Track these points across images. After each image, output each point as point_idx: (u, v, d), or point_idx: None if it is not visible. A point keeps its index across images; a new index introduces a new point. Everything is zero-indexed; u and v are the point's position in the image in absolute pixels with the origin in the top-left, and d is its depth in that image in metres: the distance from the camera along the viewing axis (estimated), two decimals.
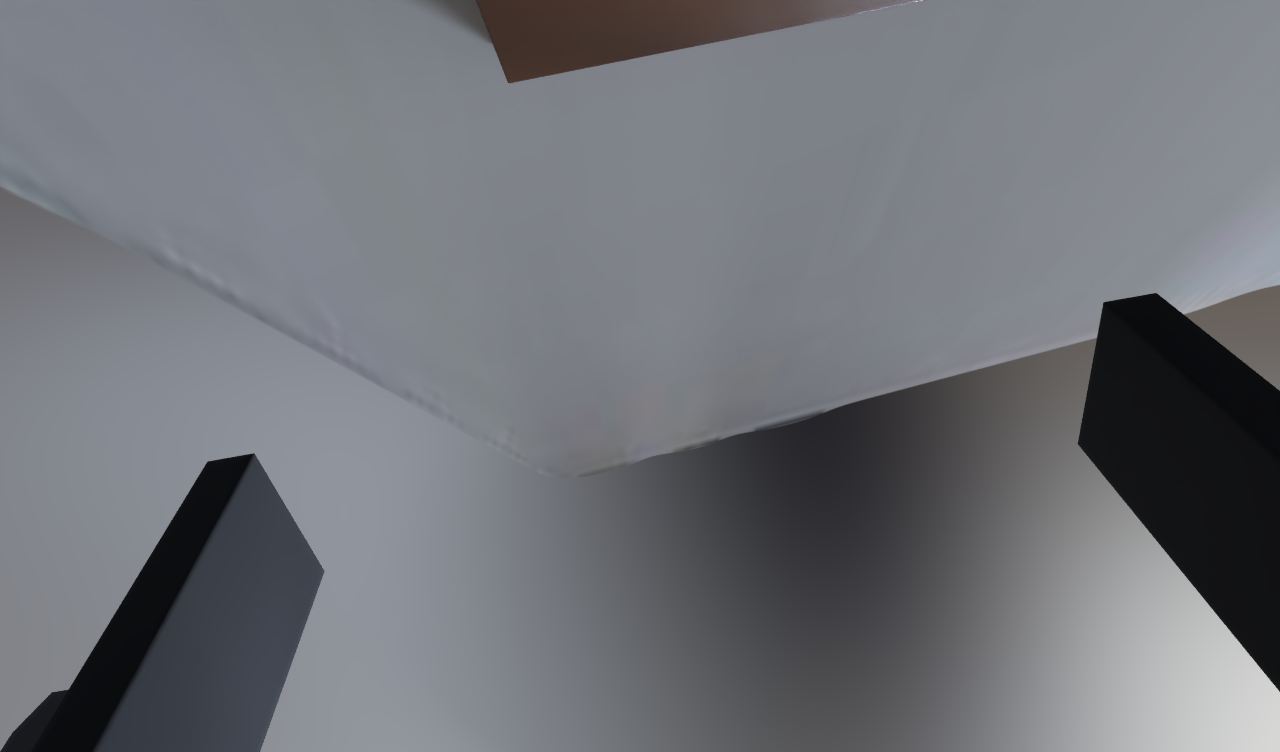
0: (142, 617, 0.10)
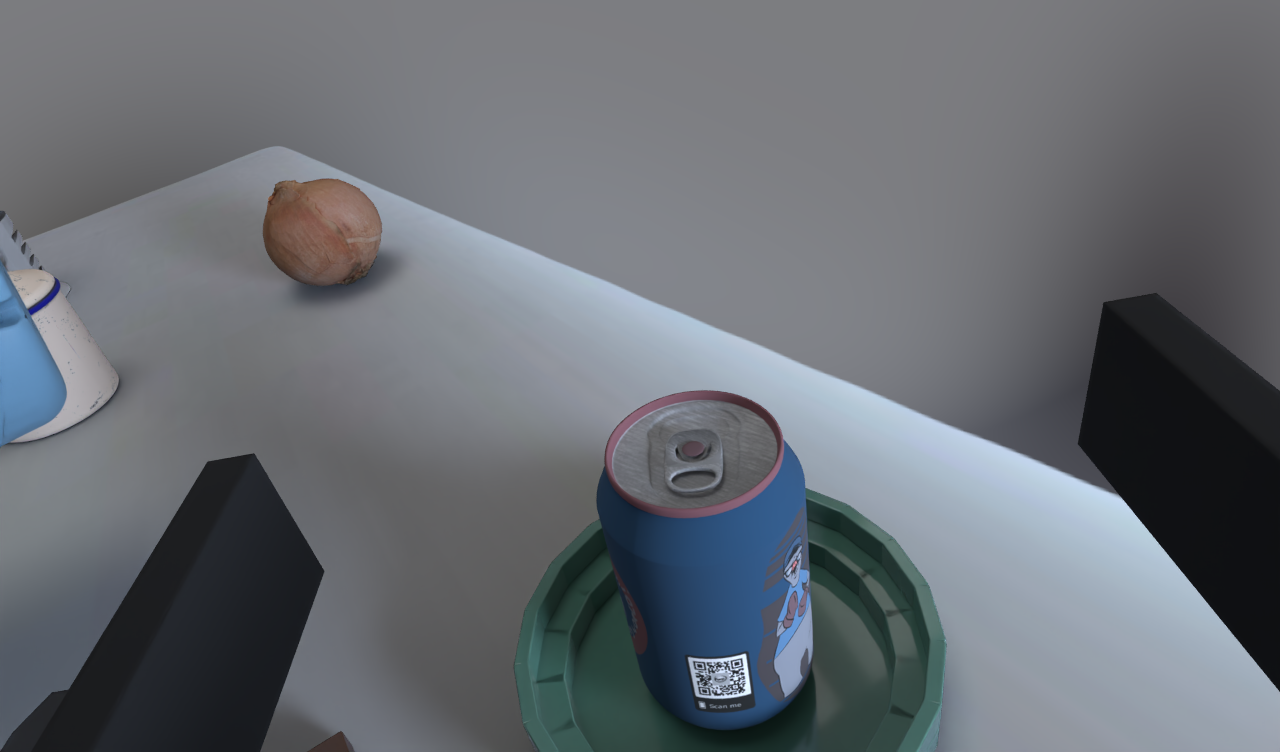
0: (142, 617, 0.10)
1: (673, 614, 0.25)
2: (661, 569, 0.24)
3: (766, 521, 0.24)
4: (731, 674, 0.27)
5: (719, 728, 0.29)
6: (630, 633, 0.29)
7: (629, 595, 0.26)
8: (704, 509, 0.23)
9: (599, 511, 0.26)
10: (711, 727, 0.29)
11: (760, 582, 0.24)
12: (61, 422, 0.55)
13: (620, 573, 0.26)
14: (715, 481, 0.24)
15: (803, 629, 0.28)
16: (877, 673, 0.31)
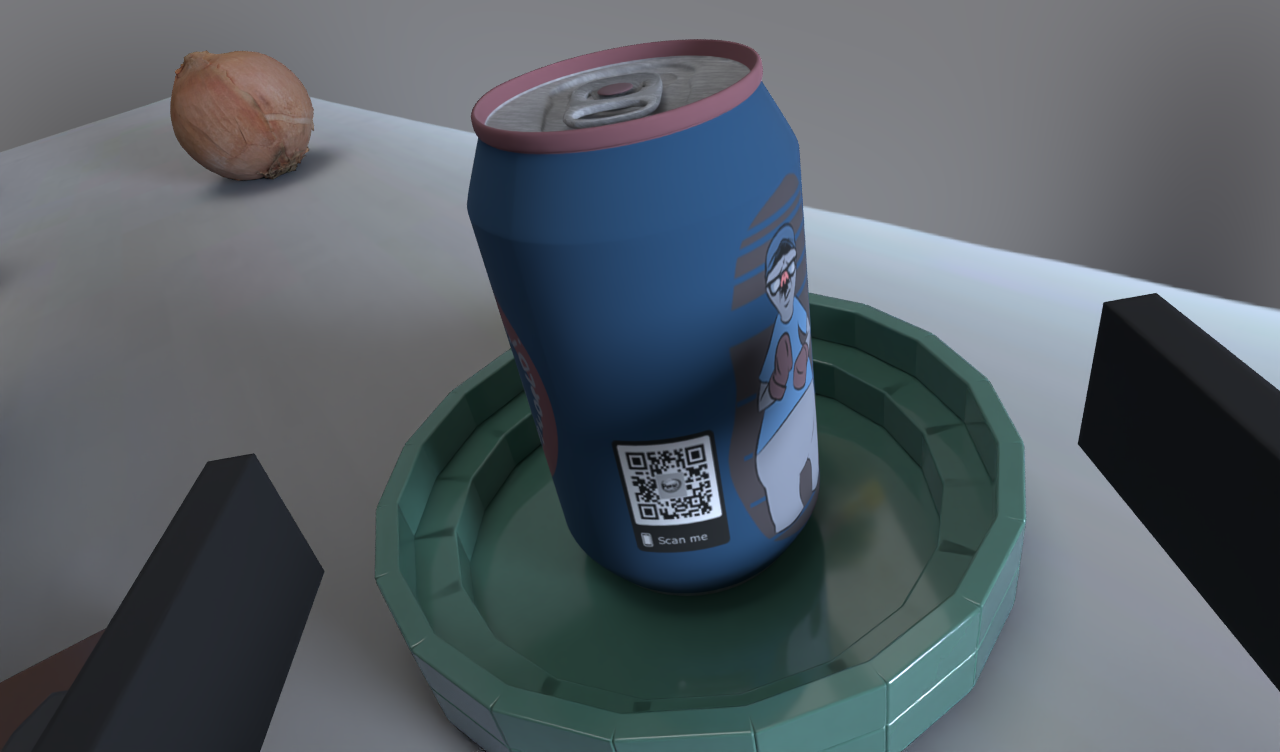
0: (142, 617, 0.10)
1: (586, 357, 0.15)
2: (555, 256, 0.14)
3: (732, 166, 0.14)
4: (688, 476, 0.17)
5: (676, 583, 0.19)
6: (542, 445, 0.19)
7: (522, 347, 0.16)
8: (620, 126, 0.13)
9: (468, 204, 0.16)
10: (665, 582, 0.19)
11: (725, 287, 0.14)
12: None
13: (505, 307, 0.16)
14: (645, 107, 0.14)
15: (803, 418, 0.18)
16: (915, 515, 0.21)
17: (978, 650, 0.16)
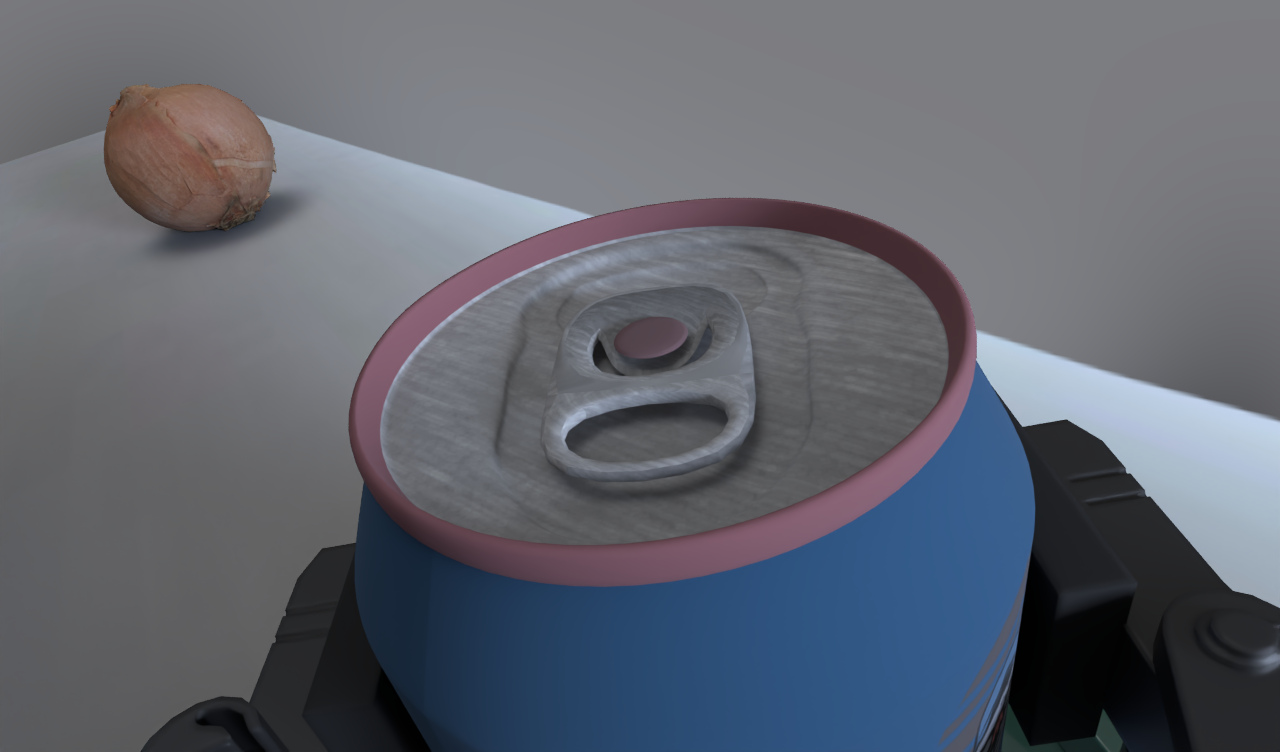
0: None
1: None
2: None
3: (937, 590, 0.06)
4: None
5: None
6: None
7: None
8: (681, 548, 0.05)
9: None
10: None
11: None
12: None
13: None
14: (726, 436, 0.06)
15: None
16: None
17: None
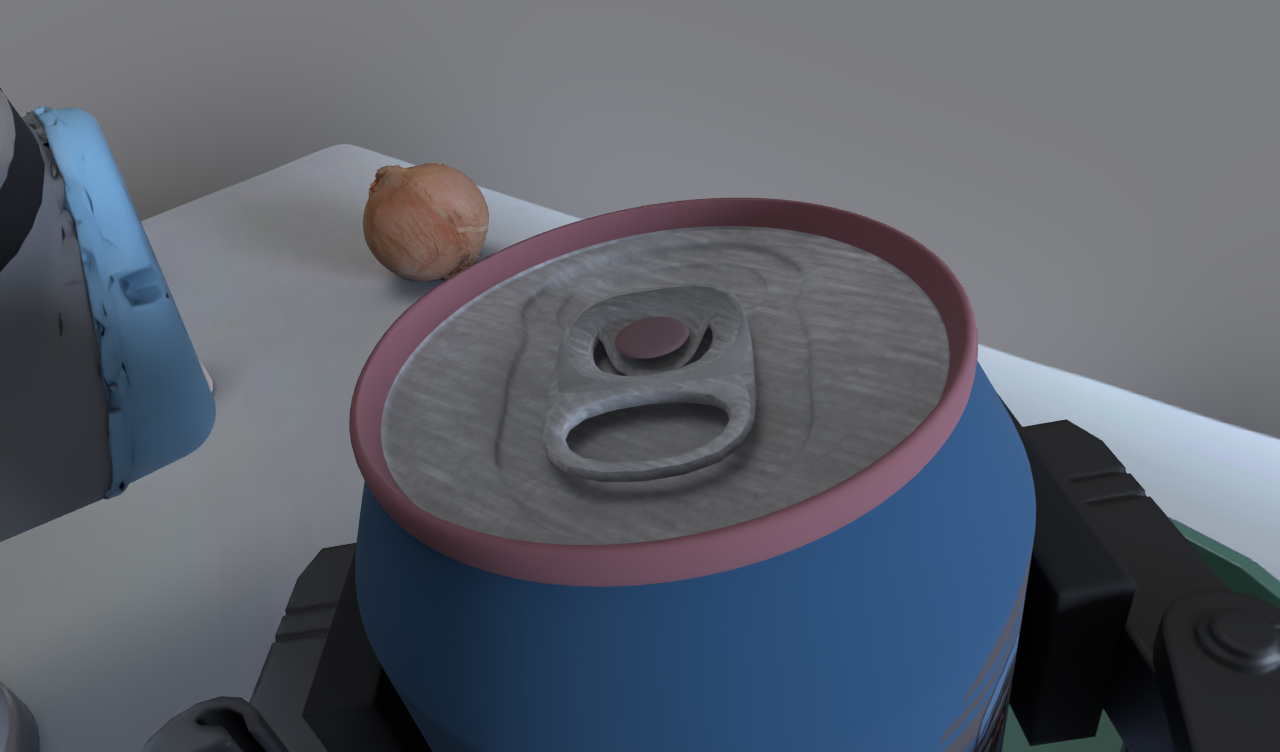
0: None
1: None
2: None
3: (938, 590, 0.06)
4: None
5: None
6: None
7: None
8: (682, 548, 0.05)
9: None
10: None
11: None
12: None
13: None
14: (729, 437, 0.06)
15: None
16: None
17: None
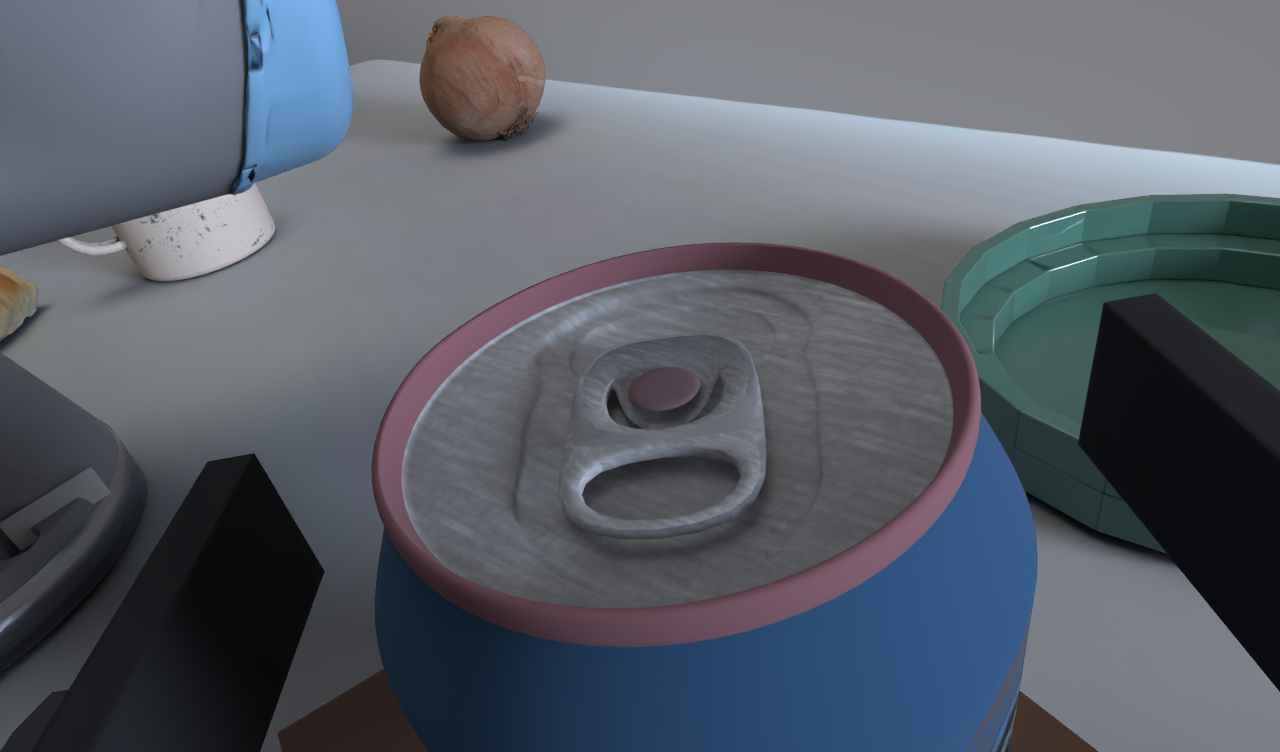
0: (142, 617, 0.10)
1: None
2: None
3: (942, 647, 0.06)
4: None
5: None
6: None
7: None
8: (697, 613, 0.05)
9: (376, 592, 0.08)
10: None
11: None
12: (223, 257, 0.48)
13: None
14: (739, 495, 0.06)
15: None
16: None
17: None
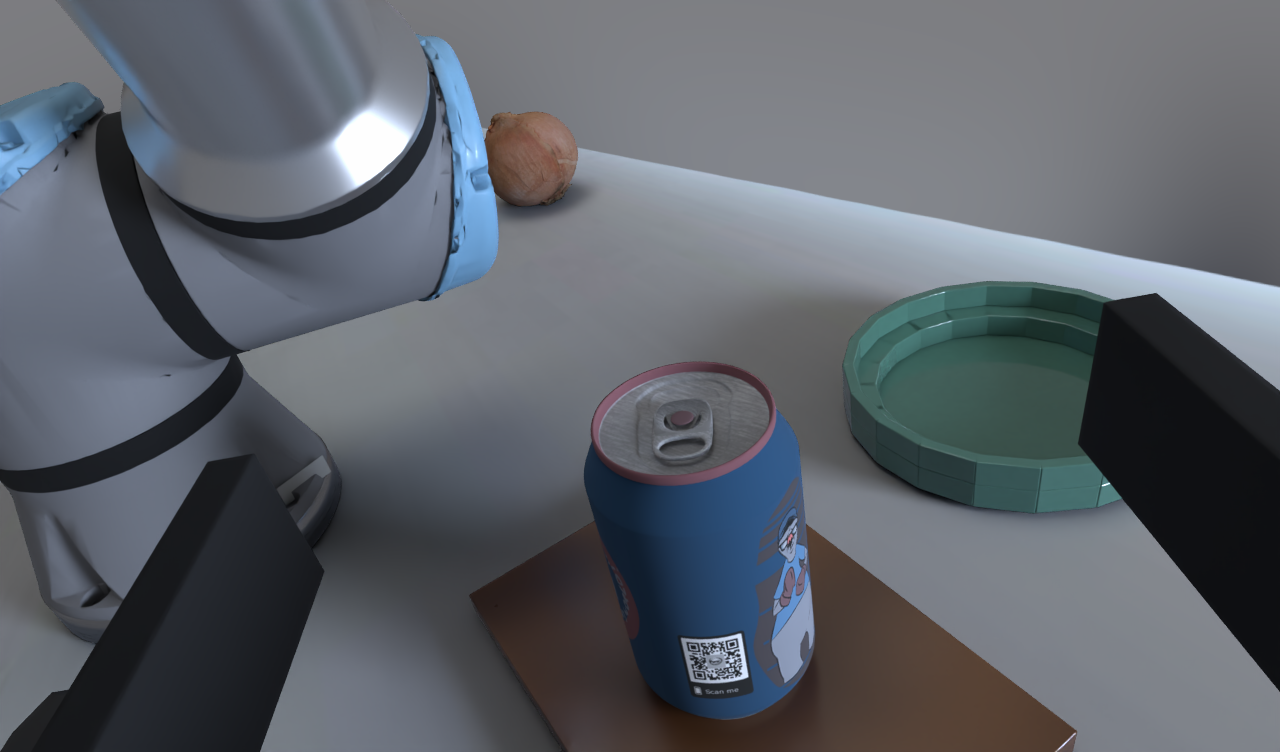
0: (143, 617, 0.10)
1: (663, 591, 0.24)
2: (649, 541, 0.23)
3: (758, 489, 0.23)
4: (727, 656, 0.25)
5: (716, 716, 0.27)
6: (623, 618, 0.28)
7: (619, 573, 0.25)
8: (692, 475, 0.22)
9: (586, 485, 0.25)
10: (709, 716, 0.27)
11: (753, 555, 0.23)
12: None
13: (609, 550, 0.25)
14: (704, 449, 0.23)
15: (802, 609, 0.27)
16: None
17: None
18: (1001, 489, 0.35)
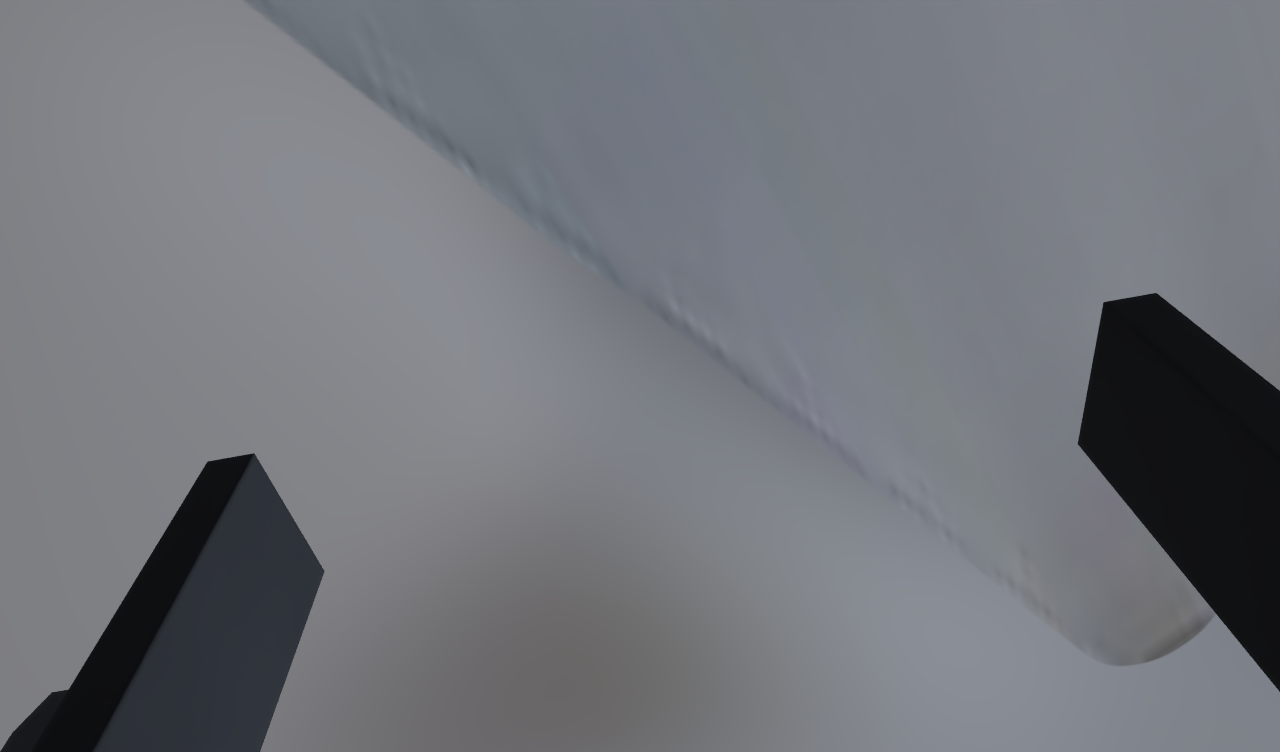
0: (142, 617, 0.10)
1: None
2: None
3: None
4: None
5: None
6: None
7: None
8: None
9: None
10: None
11: None
12: None
13: None
14: None
15: None
16: None
17: None
18: None
